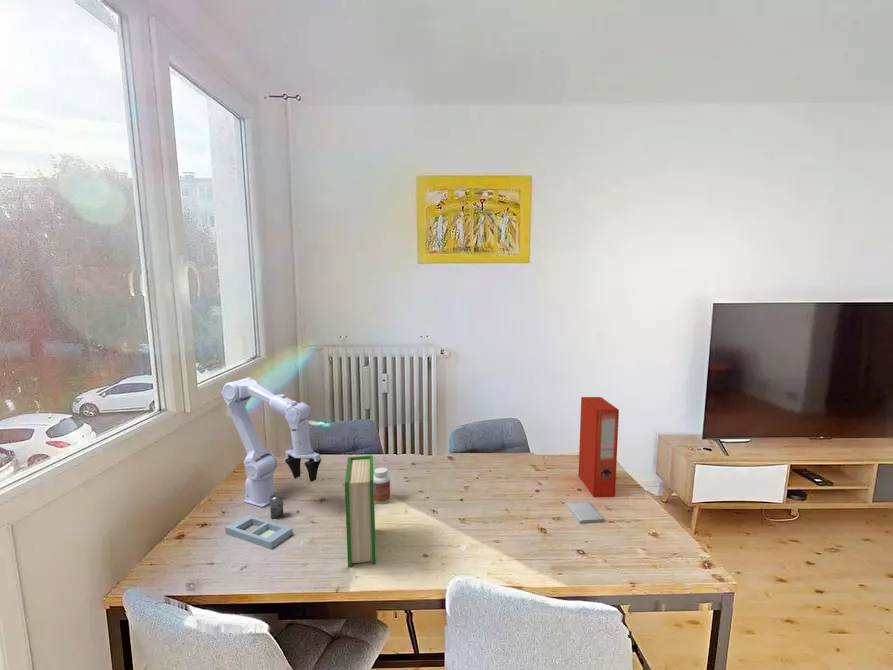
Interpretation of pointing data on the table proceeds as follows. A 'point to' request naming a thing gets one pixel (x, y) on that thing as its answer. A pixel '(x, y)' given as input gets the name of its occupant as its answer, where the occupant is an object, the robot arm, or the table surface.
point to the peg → (276, 506)
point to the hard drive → (584, 512)
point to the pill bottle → (381, 485)
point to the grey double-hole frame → (259, 531)
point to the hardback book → (360, 510)
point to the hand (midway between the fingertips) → (305, 478)
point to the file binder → (598, 446)
